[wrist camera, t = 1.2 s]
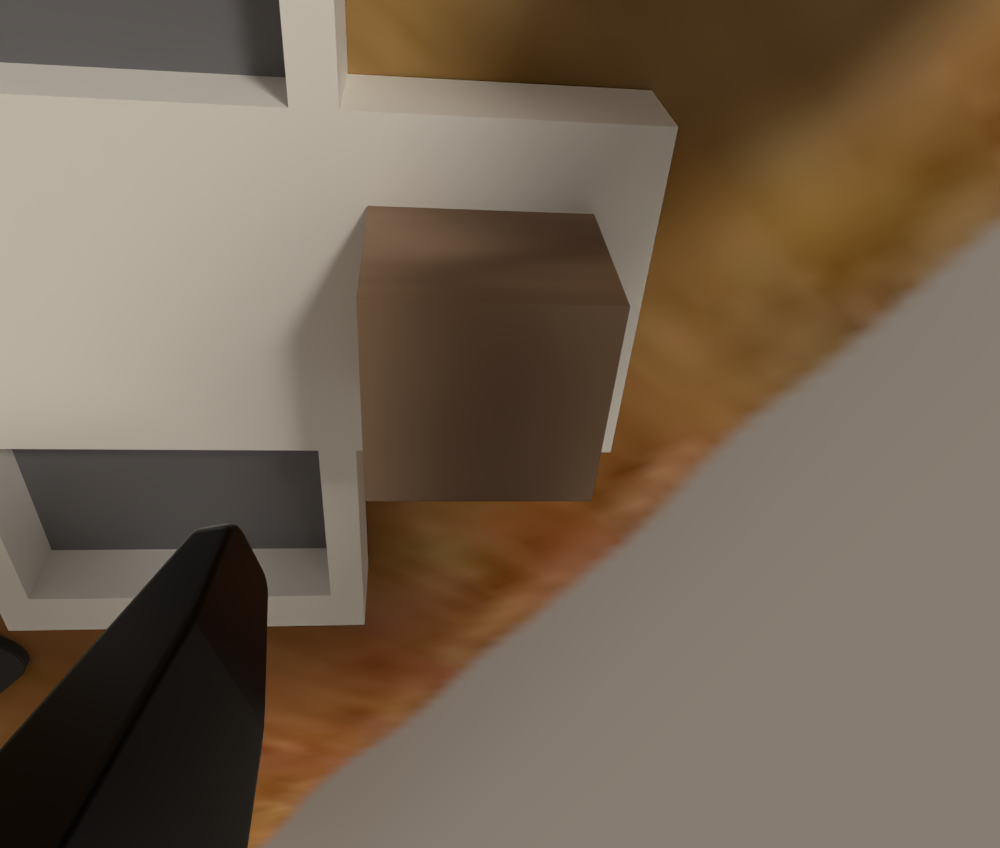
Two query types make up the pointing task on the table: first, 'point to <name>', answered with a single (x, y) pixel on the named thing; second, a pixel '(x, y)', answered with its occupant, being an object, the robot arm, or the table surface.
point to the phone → (11, 662)
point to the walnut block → (485, 353)
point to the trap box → (238, 278)
